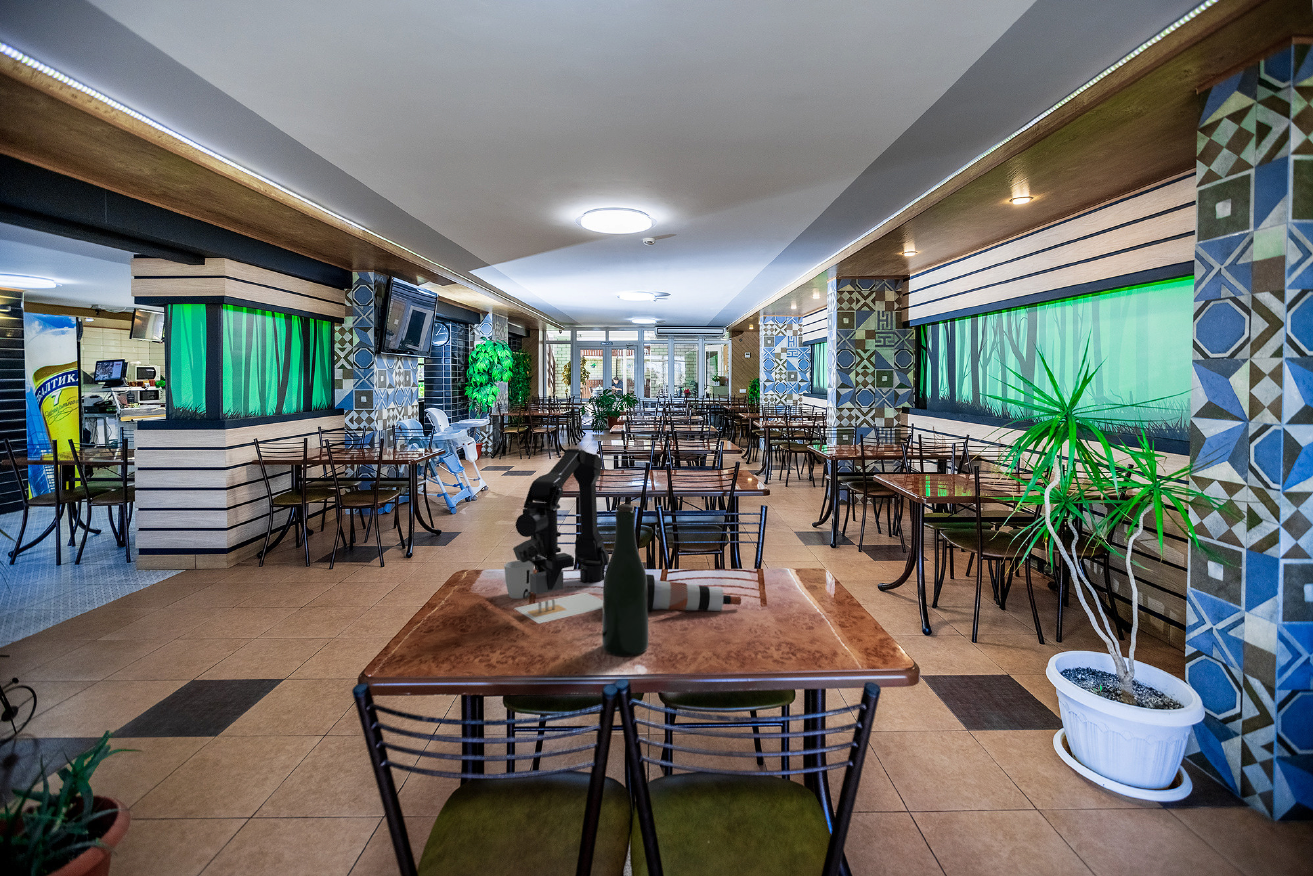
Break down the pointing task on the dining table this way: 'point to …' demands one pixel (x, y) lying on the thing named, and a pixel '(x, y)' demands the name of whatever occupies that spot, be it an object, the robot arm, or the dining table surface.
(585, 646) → the dining table surface
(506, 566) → the cup
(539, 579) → the block
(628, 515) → the beer bottle
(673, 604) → the striped bottle lying down
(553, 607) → the board
